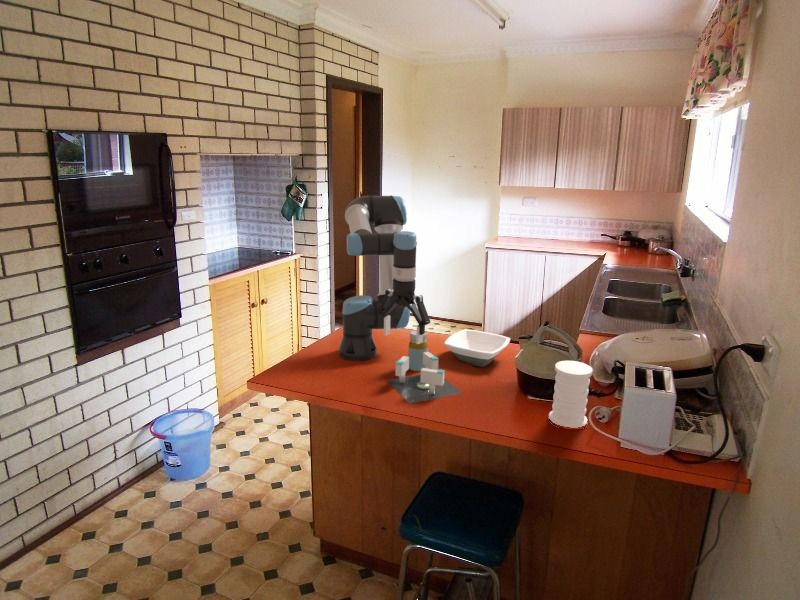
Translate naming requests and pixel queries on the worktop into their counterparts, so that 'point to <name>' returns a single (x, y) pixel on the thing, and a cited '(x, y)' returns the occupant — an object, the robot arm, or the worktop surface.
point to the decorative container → (570, 394)
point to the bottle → (417, 351)
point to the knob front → (432, 378)
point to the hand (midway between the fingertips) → (402, 338)
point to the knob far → (430, 361)
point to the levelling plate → (421, 389)
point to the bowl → (476, 346)
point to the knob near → (402, 368)
